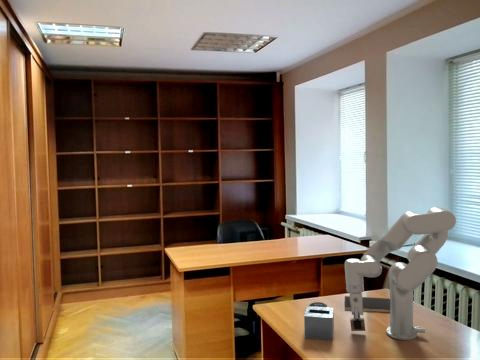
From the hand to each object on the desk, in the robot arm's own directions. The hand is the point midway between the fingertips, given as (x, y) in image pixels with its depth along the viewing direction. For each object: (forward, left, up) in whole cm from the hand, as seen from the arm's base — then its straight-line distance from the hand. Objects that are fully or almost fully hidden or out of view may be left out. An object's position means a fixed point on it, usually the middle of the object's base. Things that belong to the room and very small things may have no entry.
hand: (357, 327), depth 189 cm
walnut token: (0, 0, -1) cm, 1 cm away
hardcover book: (-5, -35, -4) cm, 36 cm away
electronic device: (+19, -23, -3) cm, 30 cm away
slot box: (+16, +3, -3) cm, 17 cm away
